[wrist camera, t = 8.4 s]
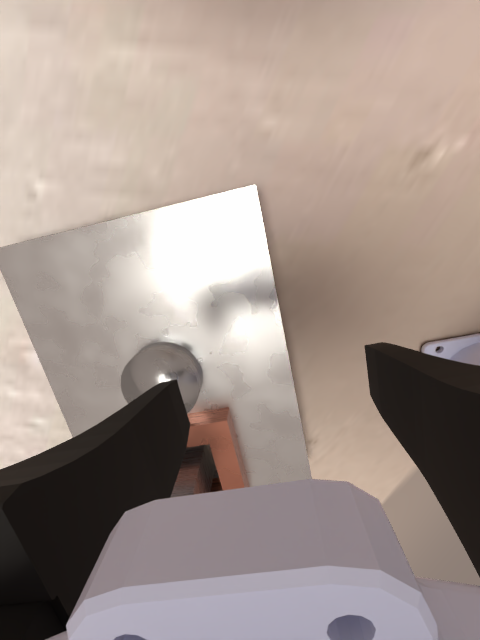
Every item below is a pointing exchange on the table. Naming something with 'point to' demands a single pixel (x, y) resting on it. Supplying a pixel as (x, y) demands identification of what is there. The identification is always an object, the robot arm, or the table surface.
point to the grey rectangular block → (195, 472)
